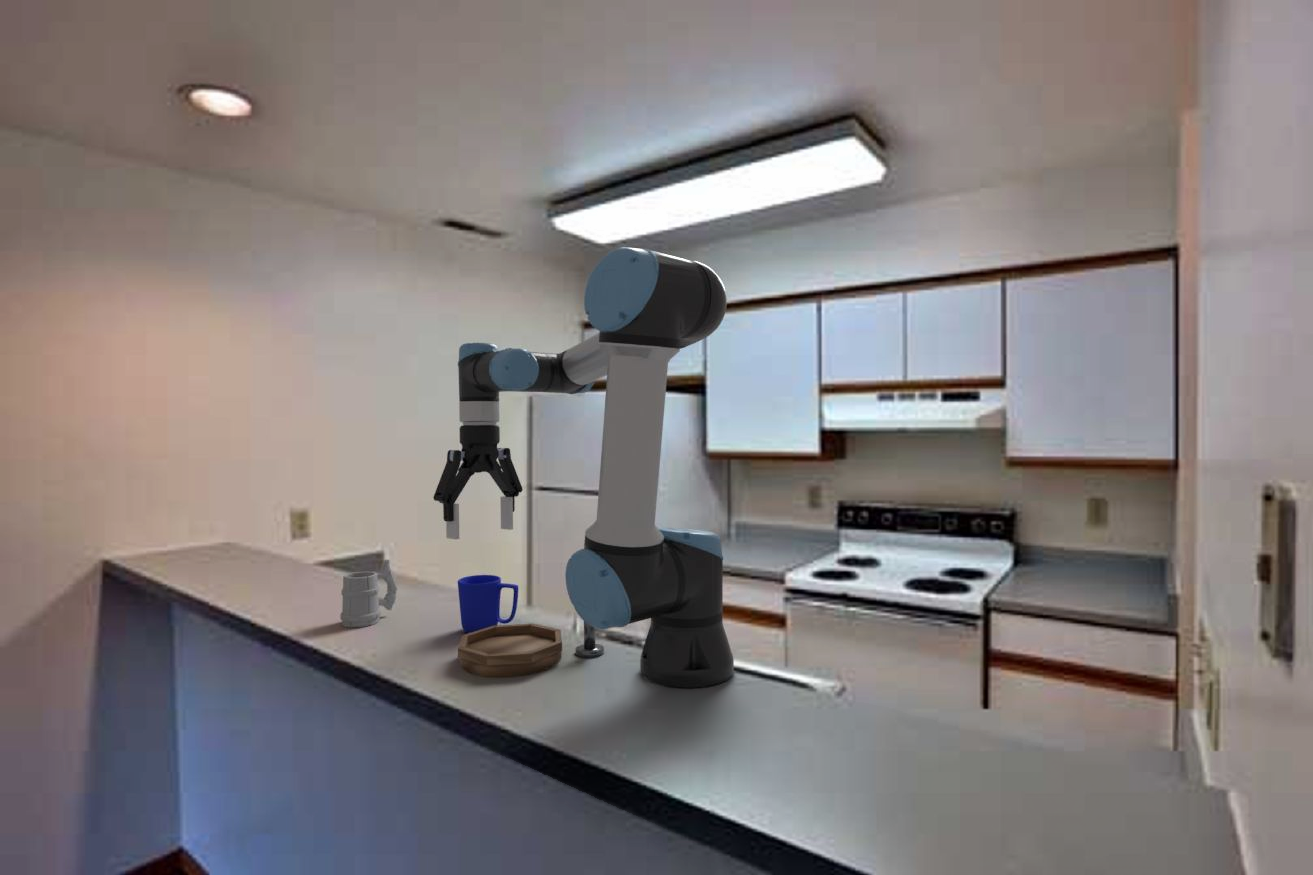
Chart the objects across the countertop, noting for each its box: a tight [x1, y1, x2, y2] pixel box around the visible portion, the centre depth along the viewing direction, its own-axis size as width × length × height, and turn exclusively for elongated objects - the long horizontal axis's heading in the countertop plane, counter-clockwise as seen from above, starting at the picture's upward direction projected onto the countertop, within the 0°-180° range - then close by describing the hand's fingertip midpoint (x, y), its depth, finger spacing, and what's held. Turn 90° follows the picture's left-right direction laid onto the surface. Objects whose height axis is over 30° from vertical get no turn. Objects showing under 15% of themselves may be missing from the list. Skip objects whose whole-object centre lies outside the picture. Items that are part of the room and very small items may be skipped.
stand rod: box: [574, 620, 605, 658], centre depth 121 cm, size 5×5×8 cm
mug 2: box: [457, 574, 519, 634], centre depth 135 cm, size 8×12×10 cm
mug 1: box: [339, 559, 398, 629], centre depth 142 cm, size 8×12×12 cm, turn 143°
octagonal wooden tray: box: [457, 623, 563, 678], centre depth 118 cm, size 17×17×4 cm
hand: (481, 533), depth 134 cm, fingers open, 13 cm apart
